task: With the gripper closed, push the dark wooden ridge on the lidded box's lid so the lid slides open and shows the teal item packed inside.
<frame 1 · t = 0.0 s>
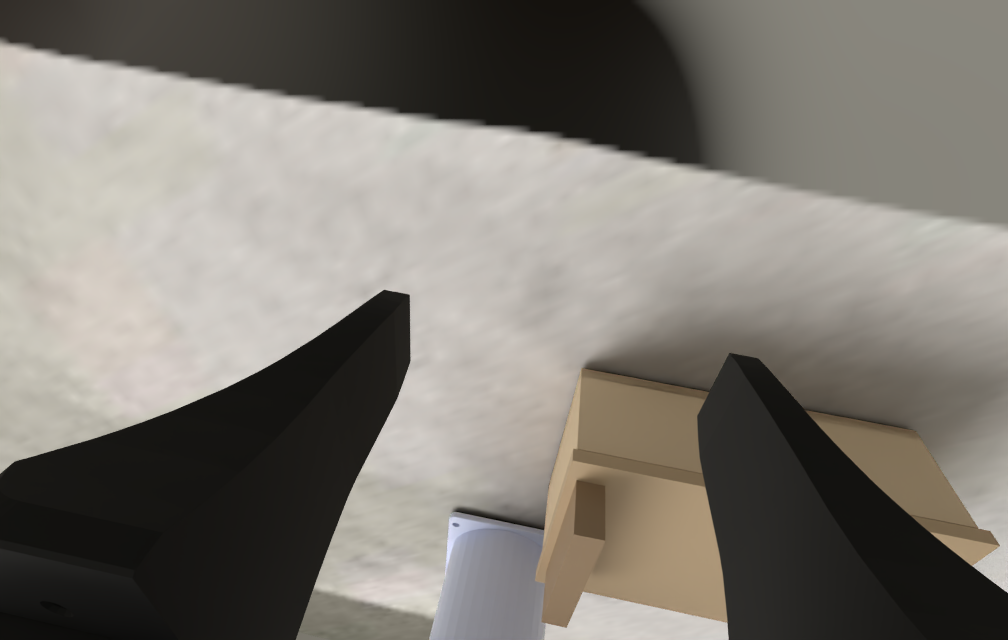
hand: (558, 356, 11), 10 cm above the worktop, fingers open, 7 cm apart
lid: (733, 586, 22), point 7 cm above the worktop, slide at 0.0 cm
lidded box: (708, 461, 27), on the worktop
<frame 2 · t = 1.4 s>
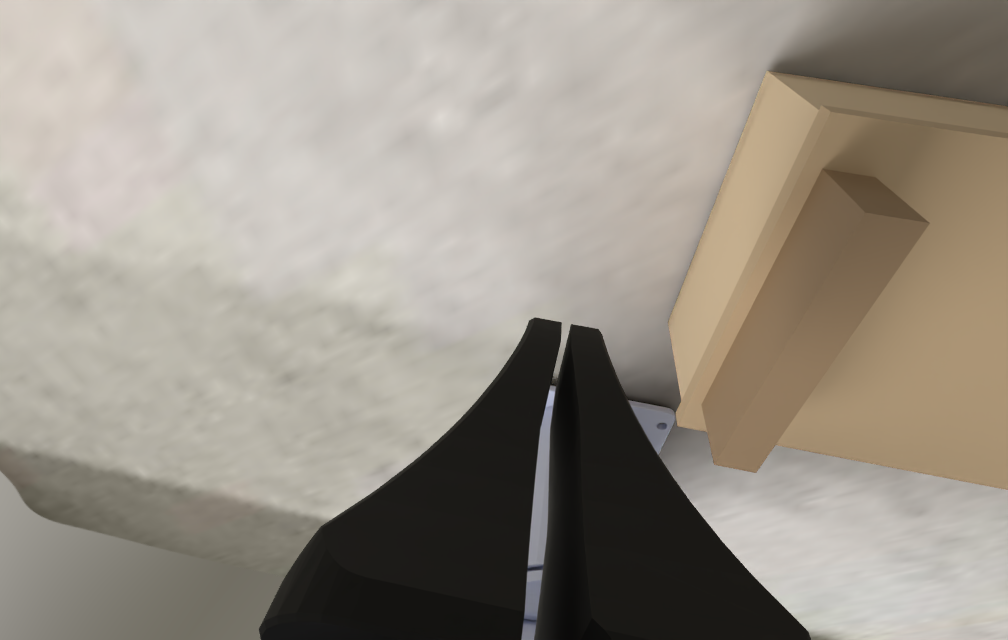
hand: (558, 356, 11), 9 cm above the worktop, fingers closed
lidded box: (931, 254, 18), on the worktop
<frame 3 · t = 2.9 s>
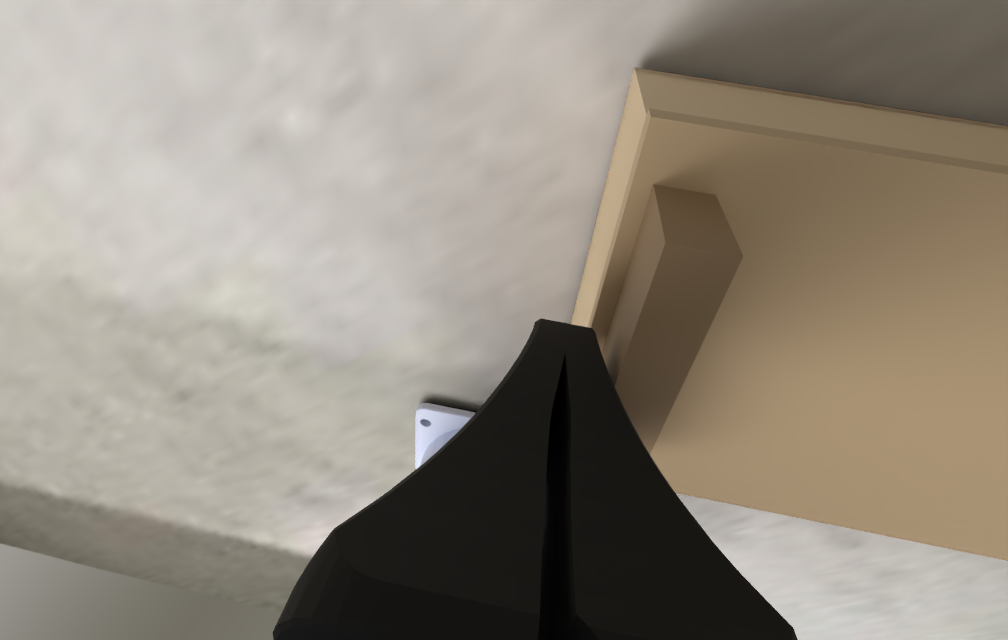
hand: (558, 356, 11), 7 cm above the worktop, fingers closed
lid: (957, 433, 11), point 7 cm above the worktop, slide at 0.2 cm, touching gripper
lidded box: (836, 273, 16), on the worktop
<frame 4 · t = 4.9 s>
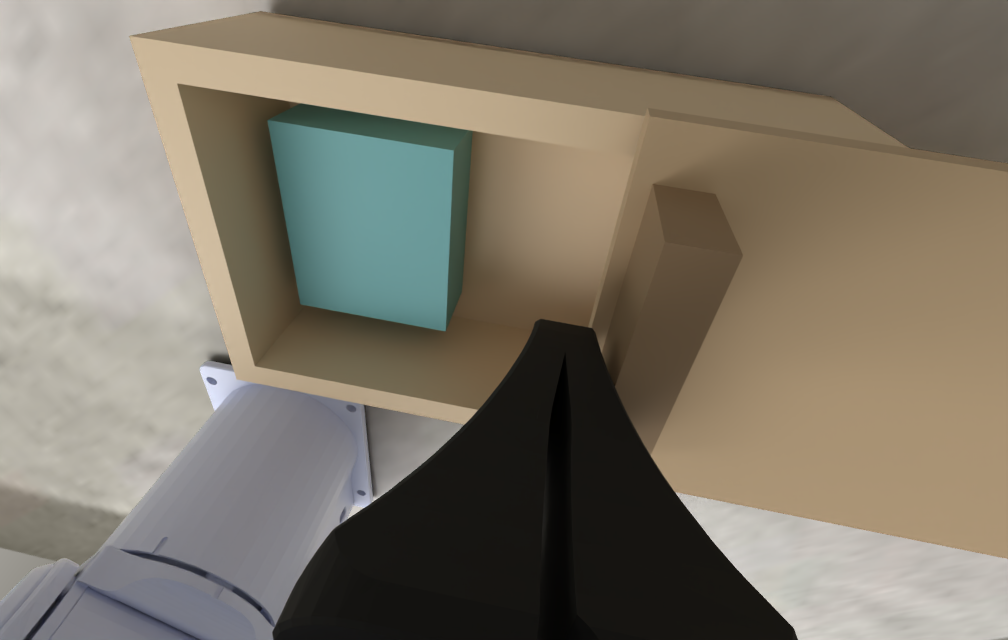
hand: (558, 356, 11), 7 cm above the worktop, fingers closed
lid: (960, 432, 11), point 7 cm above the worktop, slide at 10.9 cm, touching gripper
lidded box: (514, 217, 17), on the worktop
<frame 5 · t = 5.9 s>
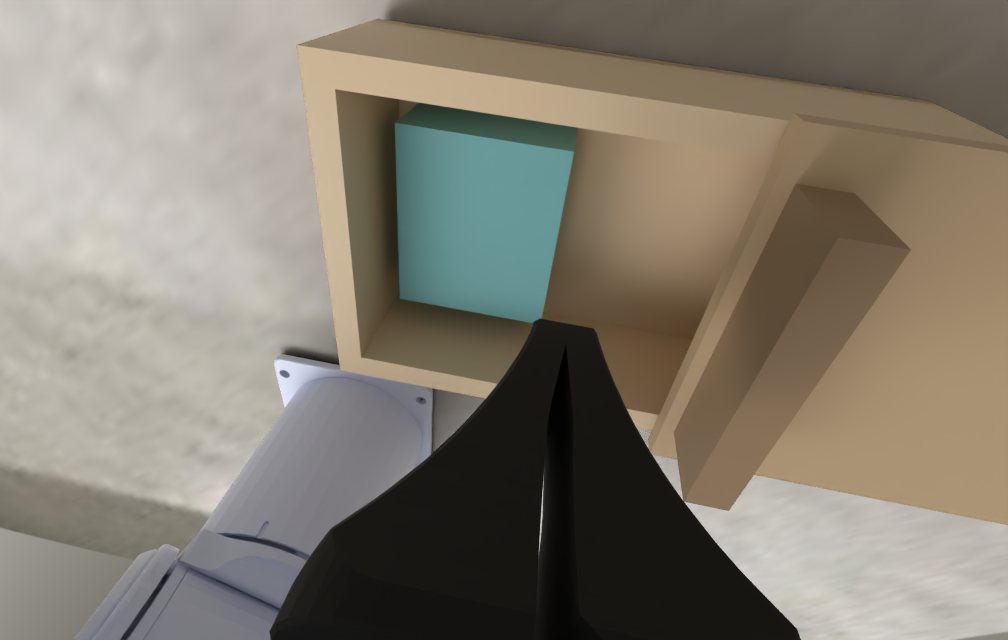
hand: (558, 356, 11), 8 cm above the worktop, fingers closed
lidded box: (604, 214, 18), on the worktop
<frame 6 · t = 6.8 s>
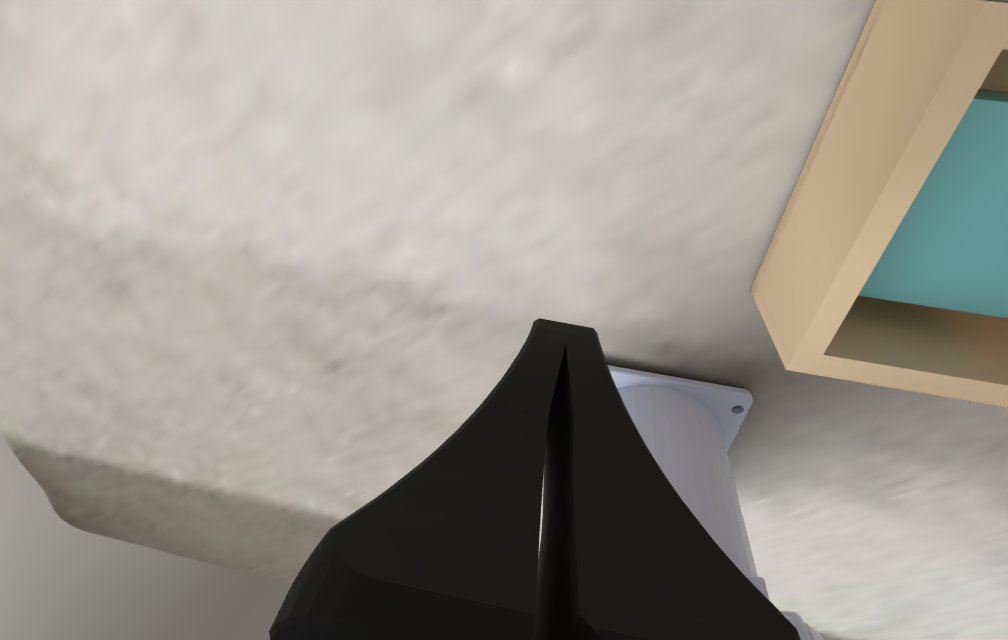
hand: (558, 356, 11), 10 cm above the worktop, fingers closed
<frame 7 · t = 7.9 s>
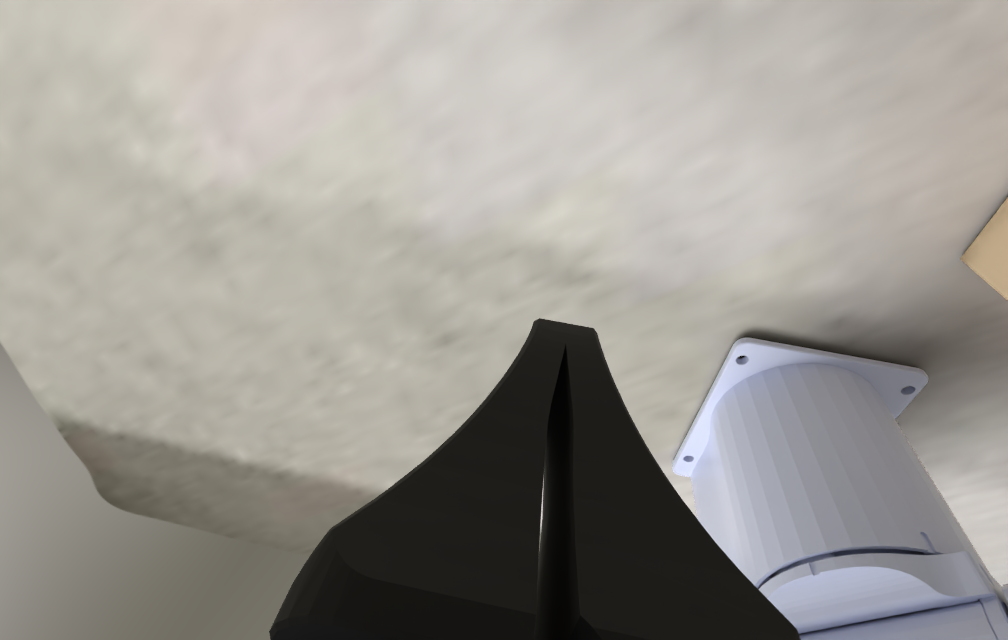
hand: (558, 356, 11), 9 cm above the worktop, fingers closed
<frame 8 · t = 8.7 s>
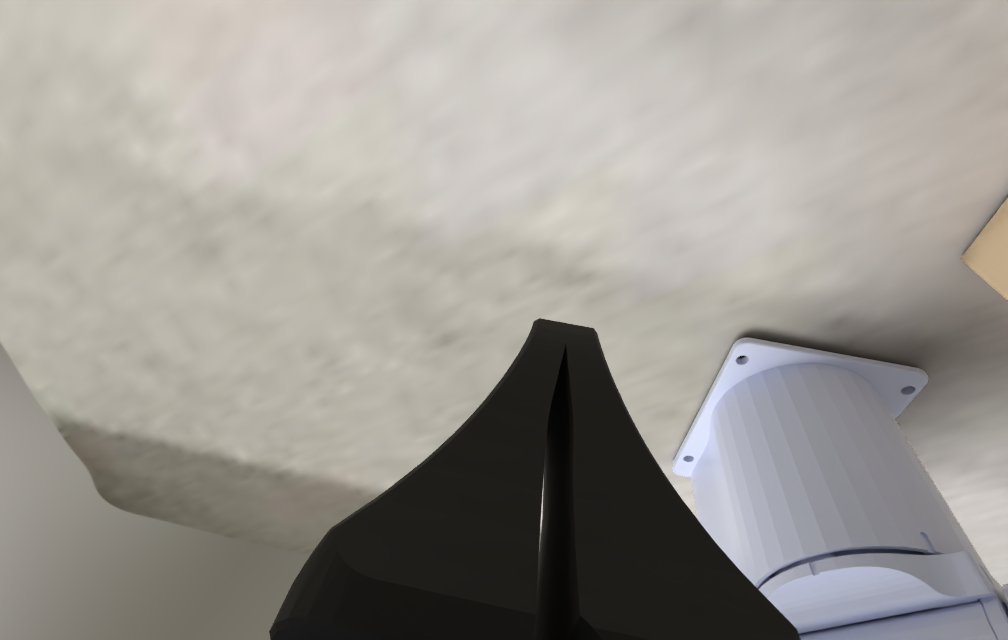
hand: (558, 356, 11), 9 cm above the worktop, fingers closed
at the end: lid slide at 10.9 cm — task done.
